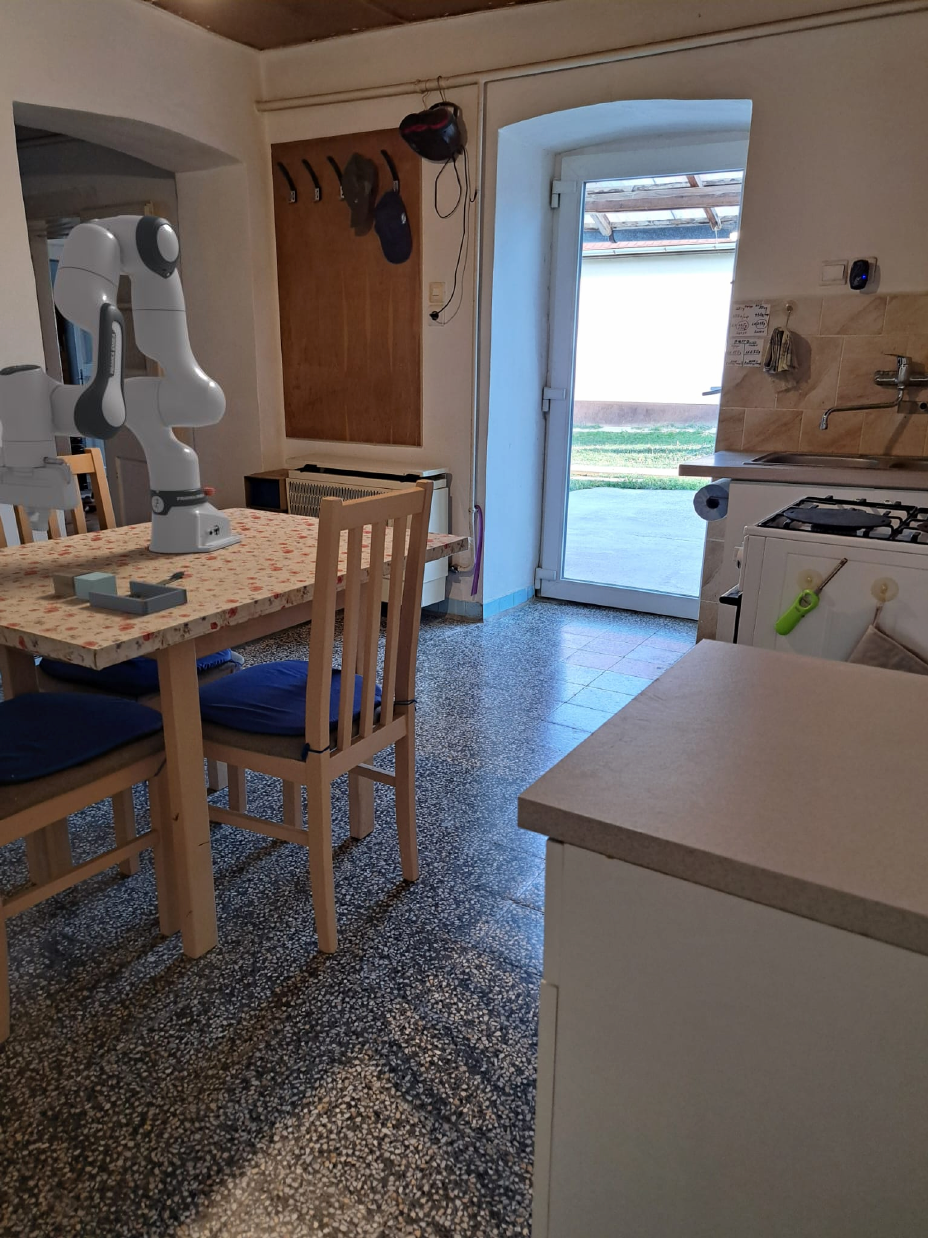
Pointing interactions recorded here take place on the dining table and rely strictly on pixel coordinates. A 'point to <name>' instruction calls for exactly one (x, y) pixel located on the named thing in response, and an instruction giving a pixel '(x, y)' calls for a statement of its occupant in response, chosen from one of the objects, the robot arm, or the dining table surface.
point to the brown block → (67, 581)
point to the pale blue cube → (95, 584)
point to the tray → (158, 599)
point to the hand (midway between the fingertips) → (39, 530)
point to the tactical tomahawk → (162, 583)
